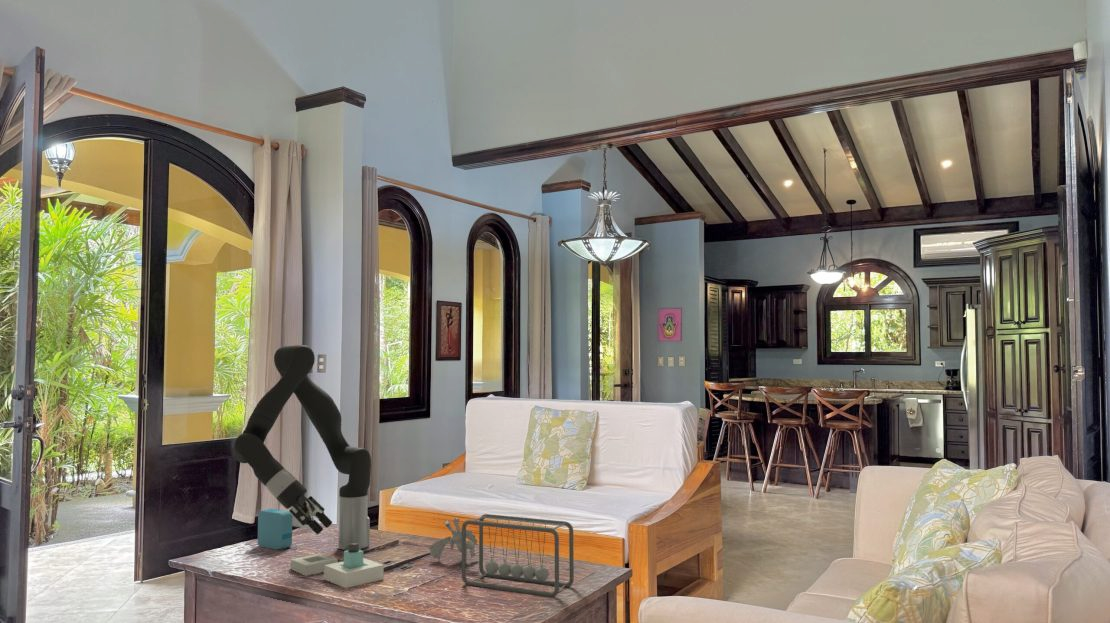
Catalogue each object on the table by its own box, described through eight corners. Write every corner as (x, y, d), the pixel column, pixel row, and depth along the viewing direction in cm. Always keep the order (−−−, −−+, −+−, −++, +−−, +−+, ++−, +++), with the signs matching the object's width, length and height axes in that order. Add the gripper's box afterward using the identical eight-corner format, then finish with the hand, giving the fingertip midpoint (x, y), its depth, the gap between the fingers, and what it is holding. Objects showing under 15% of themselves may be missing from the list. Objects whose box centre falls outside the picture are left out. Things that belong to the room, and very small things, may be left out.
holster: (321, 563, 234) (321, 553, 234) (337, 569, 226) (337, 559, 227) (290, 569, 227) (290, 559, 227) (306, 576, 219) (306, 565, 220)
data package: (292, 547, 254) (292, 511, 255) (281, 550, 250) (281, 513, 251) (268, 543, 260) (268, 508, 261) (257, 546, 256) (257, 510, 257)
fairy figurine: (483, 559, 227) (462, 518, 226) (437, 577, 233) (416, 537, 233) (496, 544, 236) (475, 505, 236) (450, 561, 242) (431, 523, 242)
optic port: (361, 571, 224) (361, 557, 225) (383, 579, 216) (383, 564, 216) (324, 579, 216) (324, 565, 216) (345, 588, 207) (345, 573, 208)
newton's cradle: (460, 584, 210) (461, 519, 212) (480, 575, 220) (480, 513, 221) (558, 598, 198) (557, 529, 199) (574, 587, 207) (573, 521, 208)
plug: (355, 576, 219) (356, 541, 219) (363, 579, 216) (363, 543, 216) (343, 579, 216) (343, 544, 216) (350, 582, 213) (350, 546, 214)
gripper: (286, 483, 211) (327, 524, 210) (303, 475, 225) (341, 514, 224) (267, 502, 210) (307, 544, 210) (285, 493, 225) (323, 532, 224)
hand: (325, 528), depth 217 cm, fingers open, 8 cm apart
